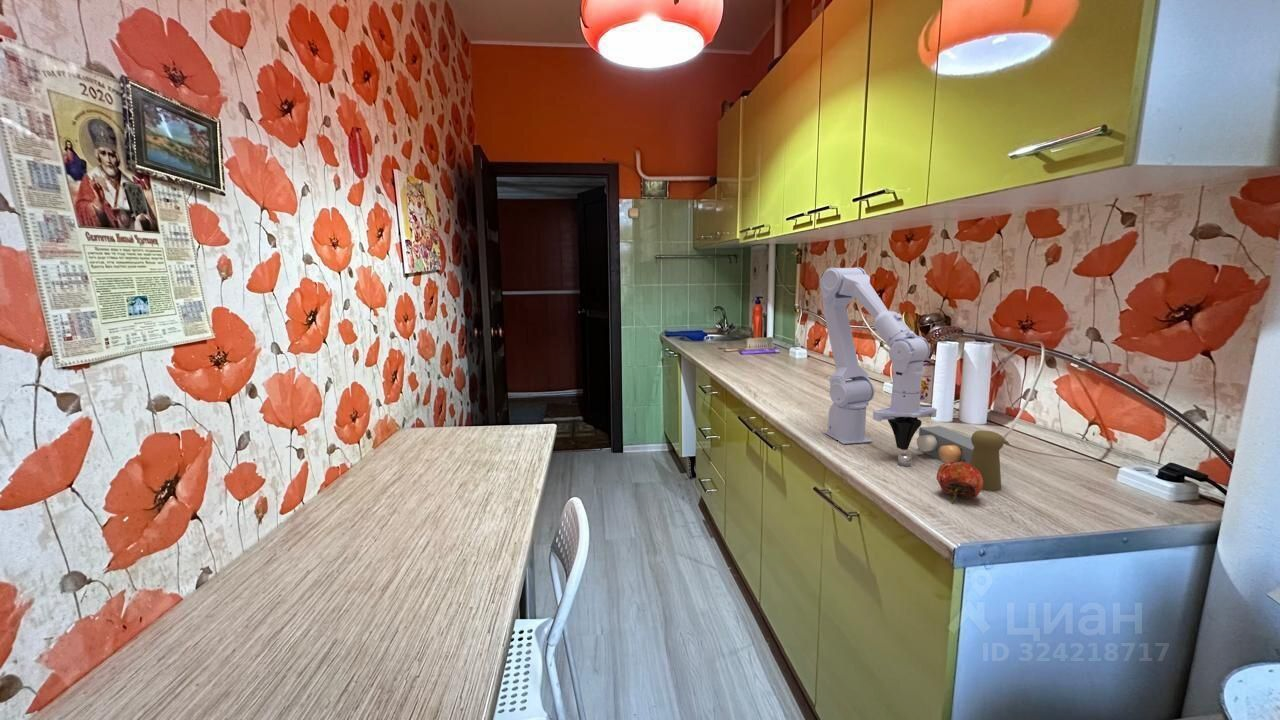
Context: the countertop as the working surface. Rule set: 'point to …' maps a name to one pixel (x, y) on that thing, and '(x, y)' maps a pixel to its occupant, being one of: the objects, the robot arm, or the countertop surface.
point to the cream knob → (927, 443)
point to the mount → (948, 441)
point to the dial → (904, 460)
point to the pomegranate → (960, 479)
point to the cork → (987, 458)
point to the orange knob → (950, 453)
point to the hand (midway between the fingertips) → (902, 448)
